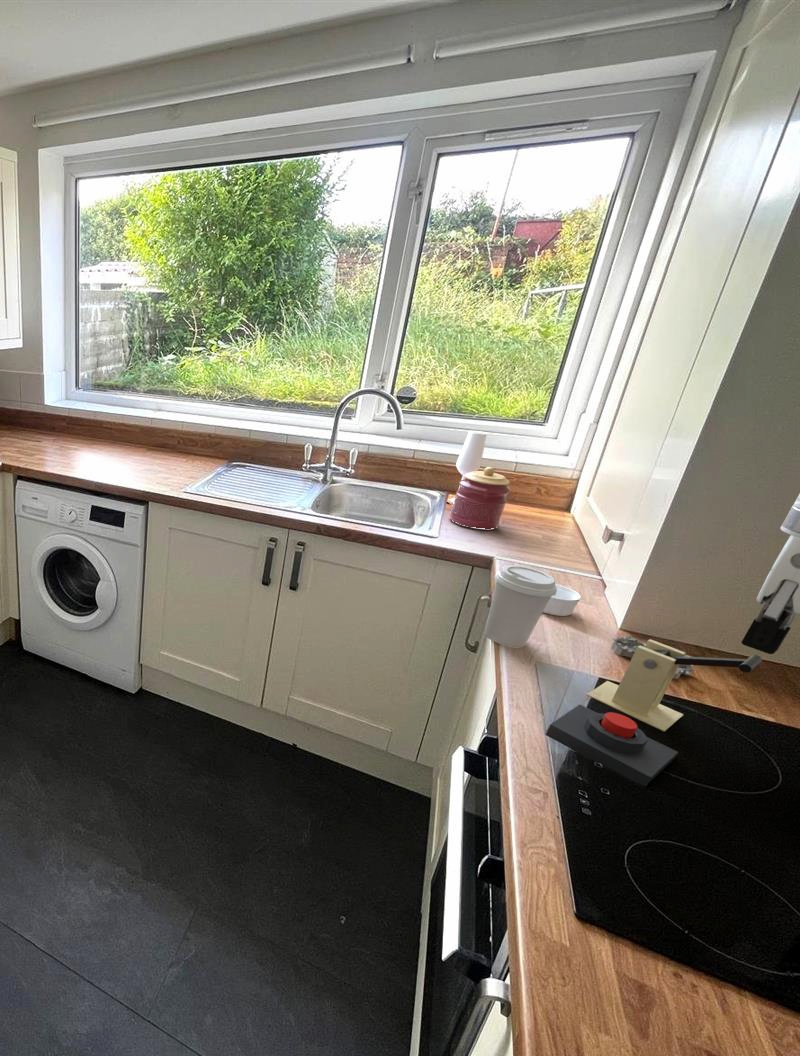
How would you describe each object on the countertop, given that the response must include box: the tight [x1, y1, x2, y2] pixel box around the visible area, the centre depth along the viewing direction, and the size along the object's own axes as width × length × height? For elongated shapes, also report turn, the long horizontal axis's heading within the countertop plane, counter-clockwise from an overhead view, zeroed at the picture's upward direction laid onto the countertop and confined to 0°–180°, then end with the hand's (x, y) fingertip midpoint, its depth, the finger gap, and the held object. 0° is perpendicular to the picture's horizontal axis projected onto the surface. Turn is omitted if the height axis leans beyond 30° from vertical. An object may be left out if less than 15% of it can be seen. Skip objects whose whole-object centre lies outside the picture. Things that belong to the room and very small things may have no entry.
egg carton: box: [610, 635, 694, 680], centre depth 107 cm, size 11×8×4 cm
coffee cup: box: [483, 564, 557, 649], centre depth 110 cm, size 10×10×15 cm
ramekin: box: [542, 583, 582, 617], centre depth 127 cm, size 9×9×4 cm
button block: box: [545, 704, 679, 786], centre depth 86 cm, size 12×10×4 cm
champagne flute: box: [449, 430, 488, 503], centre depth 189 cm, size 7×7×24 cm
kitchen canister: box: [449, 466, 511, 529], centre depth 173 cm, size 13×13×18 cm
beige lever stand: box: [586, 638, 687, 733], centre depth 93 cm, size 10×8×12 cm
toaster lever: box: [653, 650, 763, 673], centre depth 87 cm, size 12×5×2 cm, turn 31°
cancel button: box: [601, 711, 638, 738], centre depth 85 cm, size 4×4×2 cm
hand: (758, 647), depth 82 cm, fingers closed
